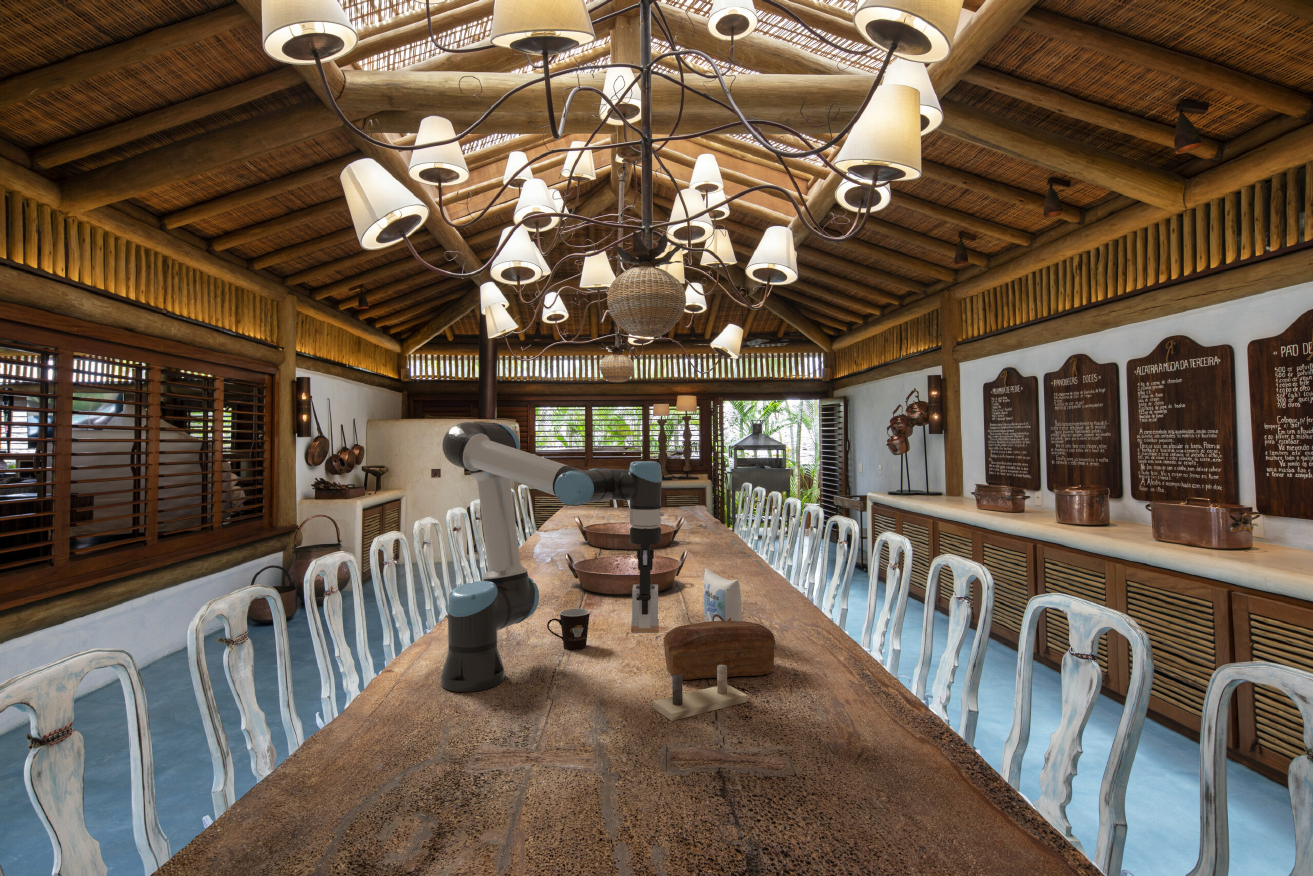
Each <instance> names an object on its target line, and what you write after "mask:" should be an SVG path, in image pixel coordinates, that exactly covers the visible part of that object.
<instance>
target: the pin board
mask: <svg viewBox="0 0 1313 876" xmlns="http://www.w3.org/2000/svg"><path fill="white" fill-rule="evenodd" d="M671 676H672V675H671ZM716 679H717V685H715V686H711V687H707V688H703V689H698V690H694V691H689V692H687V693H683V692H684V691H683V679H682V675H680V674H675V675H673V676H672V679H671V681H672V688H671V689H672V691H671V692H672V696H669V697H664V698H660V699H655V700H652V709H653V710H655V711H657V712H658V713H659V714H661V715H662V716H663V717H665V718H667V719H668V720H669V721H671V722H672V721H673V722H674V721H677V720H681V719H685V718H688V717H692V716H693V717H694V716H697V715H700V714H704V713H708V712H709V713H710V712H713V711H716V710H719V709H720V710H721V709H724V708H728V707H731V706H736V705H739V704H740V705H741V704H743V703H747V702H748V694H746V693H744V692H742V691H740V690H738V689H737V688H735V687H732V686H731V685H729V684H728V677H727V666H726V665H718V666H717V678H716Z"/></svg>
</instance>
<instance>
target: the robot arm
mask: <svg viewBox="0 0 1313 876" xmlns="http://www.w3.org/2000/svg"><path fill="white" fill-rule="evenodd" d="M441 445H442V452H443V455H444V456H445V459H446V460H447V461H448V462H449V463H450V464H453V465H455V466H456V467H459V468H462V469H465V470H468V471H469V473H470V476H471V477H472V478H474V479H475V480H476V482H477V489H478V490H477V491H478V497H479V498H478V499H479V505H480V512H481V521H482V530H483V539H484V546H485V547H484V548H485V555H486V564H487V571H486V572H485V574H484V576H482V579H483V580H478V581H473V582H467V583H463V584H461V585H459V586H456V587H454V588H453V589H452V590H451V591H450V592H449V595H448V603H447V610H446V611H447V627H448V629H447V630H448V631H447V636H448V637H447V638H448V639H447V641H448V642H447V643H448V647H447V649H448V652H447V654H446V658H445V661H444V664H443V667H442V671H441V673H440V674H441V675H440V686H441V687H442V688H443V689H445V690H447V691H452V692H460V693H461V692H462V693H465V692H466V693H470V692H477V691H484V690H488V689H491V688H494V687H496V686H498V685H500V684H502V683H503V682H504V680H505V675H506V674H505V667H504V666H505V665H504V663H503V661H502V658H501V654H500V652H499V649H498V631H499V630H502V629H505V628H508V627H510V626H513V625H517V624H520V623H522V622H524V621H525V620H526V619H529V618H530V617H531V616H532V615H533V614H534V613H535V612H536V610H537V608H538V605H539V602H540V592H539V591H540V590H539V587H538V585H537V583H536V582H534V580H533V579H532V578H531V577H529V573H528V569H527V568H525V567H524V566H523V565H522V564H521V555H520V547H519V539H518V532H517V523H516V516H515V510H514V502H513V501H514V500H513V494H512V493H513V492H512V484H511V481H512V482H514V483H518V484H521V485H523V486H526V487H529V488H531V489H536V490H538V491H541V492H544V493H546V494H549V495H553V496H555V497H556V498H557V499H558V500H559V501H560V502H561V503H563V504H564V505H567V506H582V505H584V504H588V503H589V504H590V503H595V502H602V501H612V500H613V501H614V500H615V501H629V524H630V525H631V527H630V528H629V542H630V543H631V544H634V545H640V549H637V551H636V559H637V570H638V571H639V584H640V595H639V597H636V600H639V628H651V596H650V585H652V582H651V577H652V575H651V572H652V570H653V567H654V566H653V560H654V557H655V556H654V555H655V554H654V553H655V551H654V549H652V547H651V545H658V544H660V543H661V542H662V528H661V526H660V525H661V524H662V517H664V516H665V513H664V512H663V511H662V487H663V486H662V484H663V477H662V466H661V464H660V462H657V461H655V460H654V461H651V460H650V461H646V460H645V461H643V460H640V461H639V460H638V461H631V462H630V464H629V468H626V469H623V468H622V469H621V468H606V467H600V468H599V467H597V468H590V469H587V470H586V469H585V470H584V469H580V468H577V467H574V466H571V465H570V466H569V465H568V464H564V463H561V462H557V461H555V460H551V459H548V458H546V457H543V456H540V455H536V454H533V453H530V452H527V451H524V450H521V442H520V439H519V437H518V435H517V433H516V432H515V431H514V429H512V428H511V427H510V426H508V425H505V424H503V423H497V422H469V421H468V422H466V421H465V422H460V423H456V424H455V425H453V426H452V427H450V428H449V429H448V430H447V431H446V432H445V434H444V435H443V439H442V444H441Z"/></svg>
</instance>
